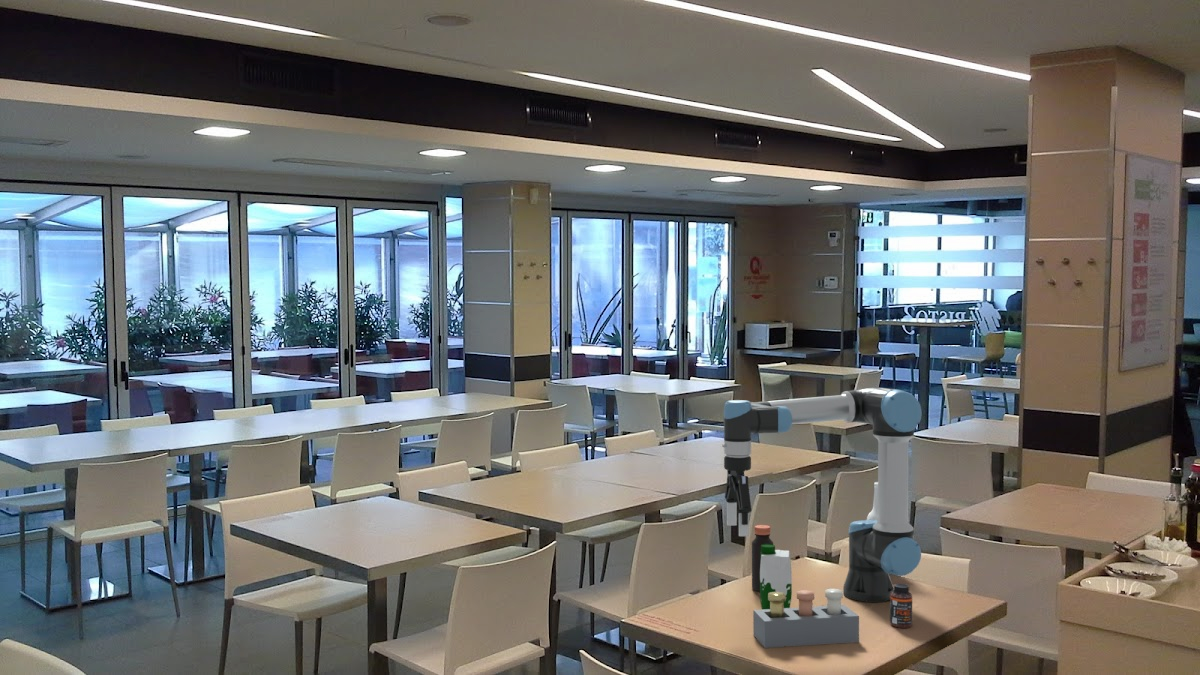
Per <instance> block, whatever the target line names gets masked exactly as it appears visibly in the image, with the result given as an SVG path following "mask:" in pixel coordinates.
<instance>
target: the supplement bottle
mask: <svg viewBox="0 0 1200 675" xmlns="http://www.w3.org/2000/svg"><path fill="white" fill-rule="evenodd" d="M893 588H894V591H893V592H892V593H891V595H890V600H889V623H890V625H891V626H892V627H895V628H900V629H907V628H908V629H909V628H911V627H912V625H913V595H912V593H911V592H910V586H909V585H908V584H906V583H895V584H893Z"/></svg>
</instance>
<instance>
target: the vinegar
mask: <svg viewBox="0 0 1200 675" xmlns="http://www.w3.org/2000/svg"><path fill="white" fill-rule="evenodd" d="M754 535H755V538H754V539H753V540H752V541H751V589H752V591H755V592H759V593H760V564H761V555H760V554H761V545H763V544H772V545H774V542H773V540H772V539H771V538H770V537H771V526H769V525H767V524H766V525H765V524H758V525H755V526H754Z"/></svg>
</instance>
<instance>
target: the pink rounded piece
mask: <svg viewBox="0 0 1200 675" xmlns="http://www.w3.org/2000/svg"><path fill="white" fill-rule="evenodd" d="M796 599H797V600H798V607H799V617H802V616H812V607H813V601H814V600H815V592H814V591H812V590H807V589H802V590H798V591H796Z"/></svg>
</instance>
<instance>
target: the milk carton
mask: <svg viewBox="0 0 1200 675" xmlns="http://www.w3.org/2000/svg"><path fill="white" fill-rule="evenodd" d="M760 555H761V564H760V592H759V595H760V597H759V598H760V605H761V606H760V607H761V610H763V609H770V601H769V600H768V593H770V592H782V593H785V594H786V601H784V608H791V603H792V595H793V594H792V593H793V590H792V588H793V586H792V585H793V584H792V583H793V582H792V580H793V579H792V578H793V577H792V576H793V575H792V574H793V573H792V562H791V555H790V550H782V549H776V545H775V544H773V545H772V544H763V545H761V554H760Z"/></svg>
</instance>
